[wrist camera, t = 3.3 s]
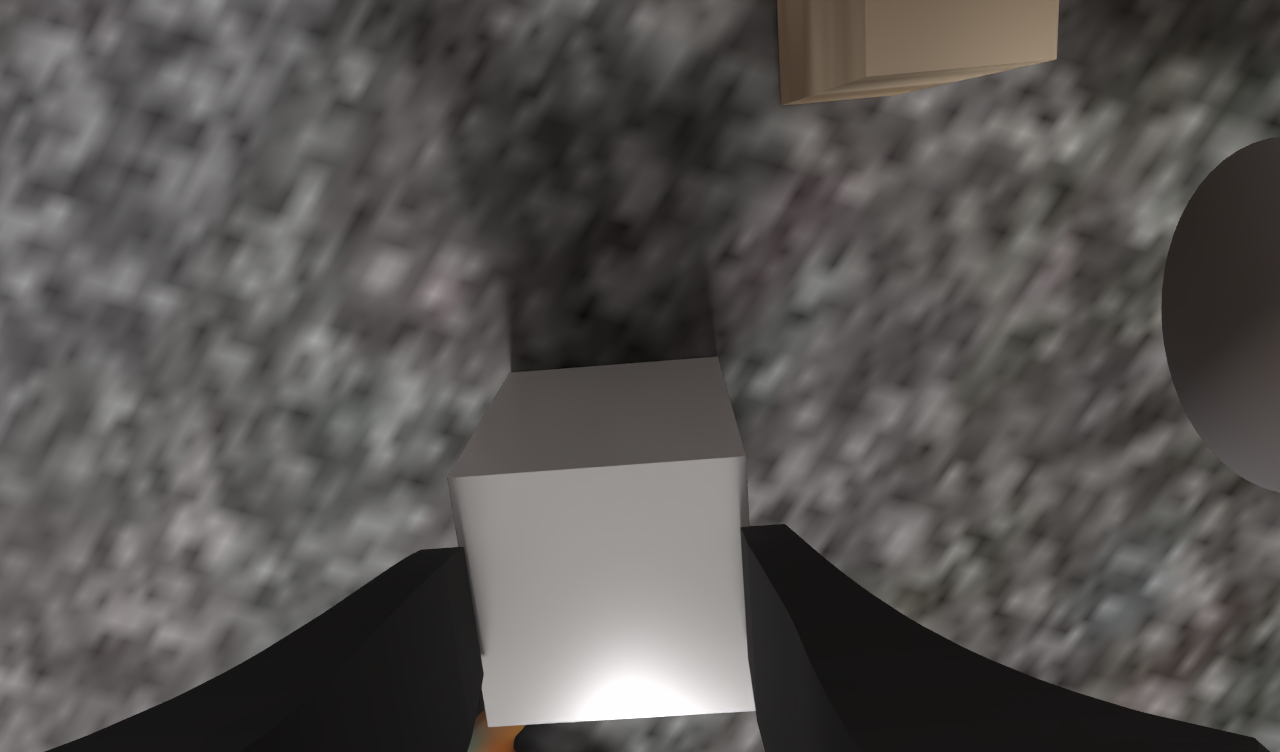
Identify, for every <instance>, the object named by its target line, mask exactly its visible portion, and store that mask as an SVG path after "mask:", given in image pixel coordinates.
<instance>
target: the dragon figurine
mask: <svg viewBox="0 0 1280 752" xmlns="http://www.w3.org/2000/svg"><path fill="white" fill-rule="evenodd" d="M524 727H525V725H514V726H498V727H488V723H487V717H486V711H485V709H484V710H483V711H482V712H481V713H480V714H479V715H478V716H477V717H476V719H475V724H474V729H473V734H472V739H471V742H470V745H469V748H468V751H467V752H516V751H515V750H514V746H513V745H514V739H515V737H516V735H517V734H518V733H519V732H520V731H521V730H522V729H523V728H524Z"/></svg>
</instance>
